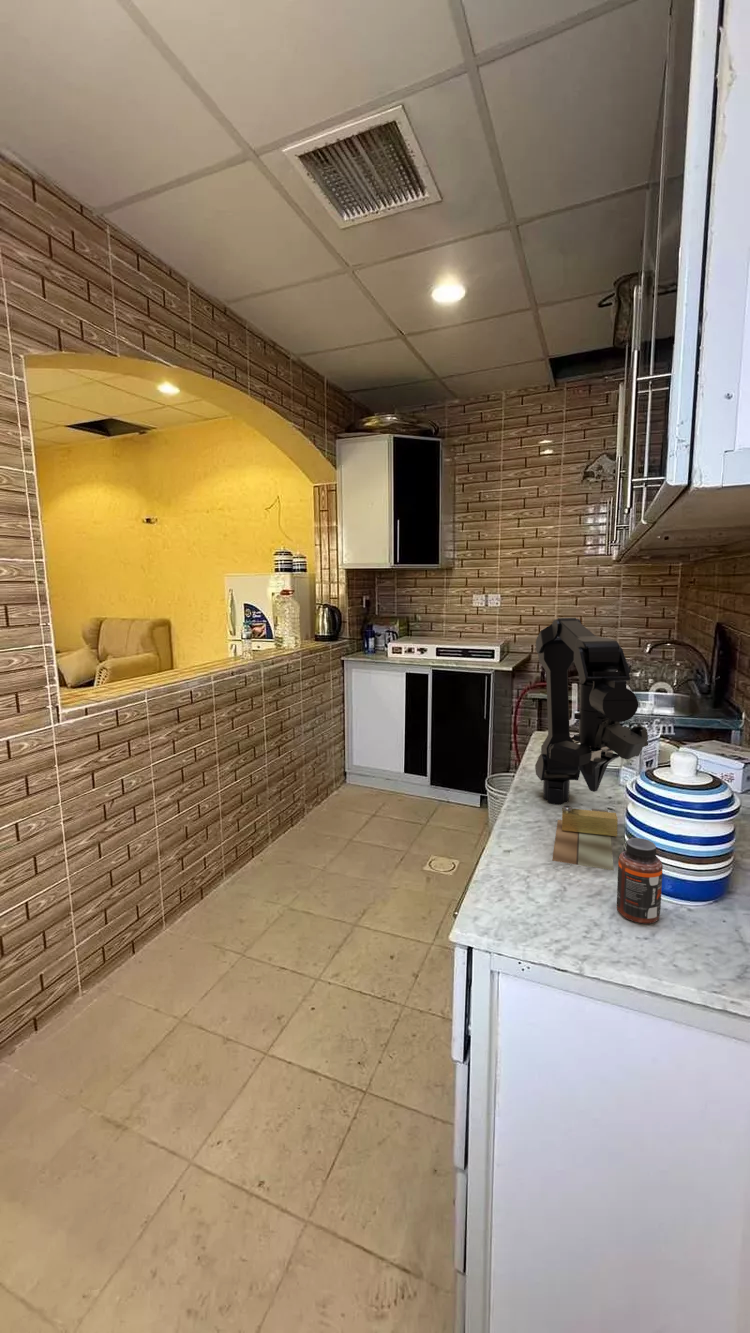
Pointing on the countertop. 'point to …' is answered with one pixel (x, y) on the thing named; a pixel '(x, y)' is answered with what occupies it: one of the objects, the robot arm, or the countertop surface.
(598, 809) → the stop block
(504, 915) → the countertop surface
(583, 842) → the door board
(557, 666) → the robot arm
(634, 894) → the supplement bottle
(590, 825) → the latch bar
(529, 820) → the countertop surface
